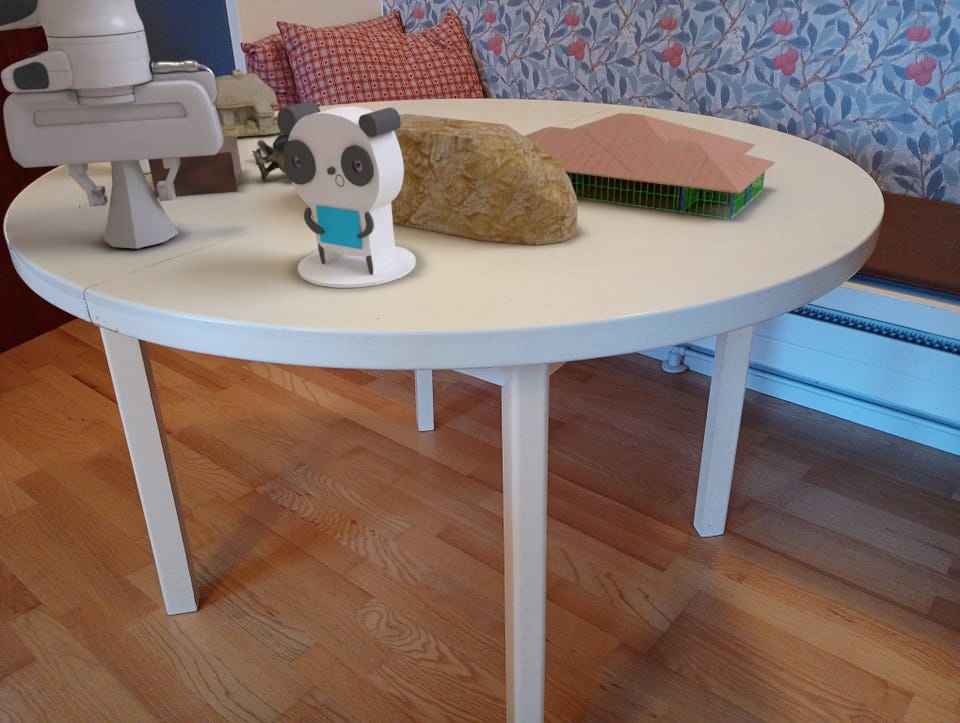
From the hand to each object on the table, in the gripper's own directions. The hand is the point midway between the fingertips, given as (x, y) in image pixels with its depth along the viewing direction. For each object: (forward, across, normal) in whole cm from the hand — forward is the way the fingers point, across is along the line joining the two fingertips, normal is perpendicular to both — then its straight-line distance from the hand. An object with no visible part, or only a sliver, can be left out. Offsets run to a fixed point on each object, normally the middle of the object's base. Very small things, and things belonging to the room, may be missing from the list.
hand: (133, 202), depth 87 cm
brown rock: (+4, -32, -1) cm, 32 cm away
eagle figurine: (+4, -16, -21) cm, 27 cm away
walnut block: (+4, -4, -22) cm, 23 cm away
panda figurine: (+4, -22, +14) cm, 26 cm away
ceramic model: (+4, -8, -54) cm, 55 cm away
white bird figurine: (+4, -13, -32) cm, 35 cm away
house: (+4, -59, -8) cm, 60 cm away
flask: (+4, 0, 0) cm, 4 cm away
